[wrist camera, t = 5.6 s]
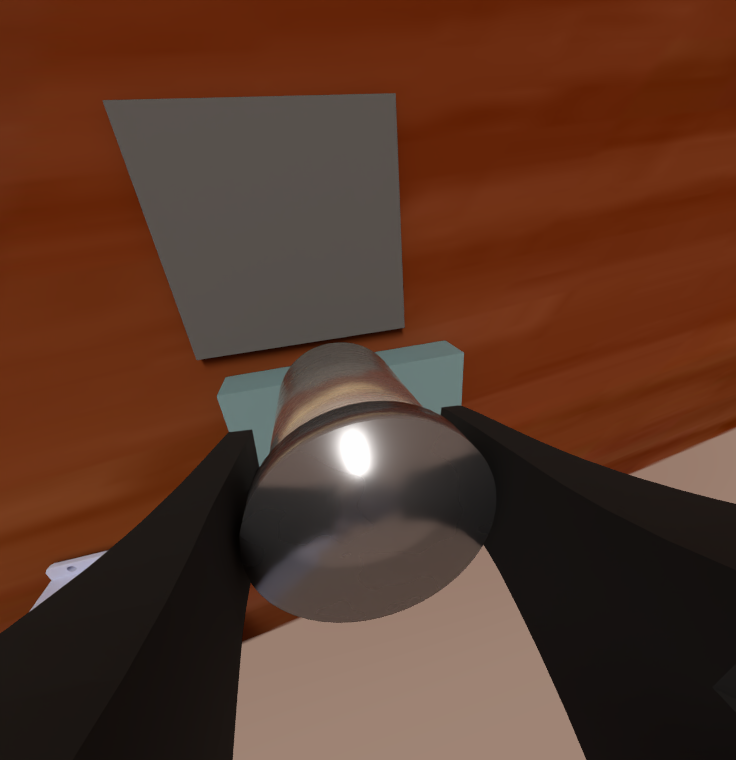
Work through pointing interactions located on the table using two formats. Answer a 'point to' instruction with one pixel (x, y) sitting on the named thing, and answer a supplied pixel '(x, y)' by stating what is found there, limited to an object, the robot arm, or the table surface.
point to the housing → (410, 364)
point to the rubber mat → (270, 214)
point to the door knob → (361, 494)
